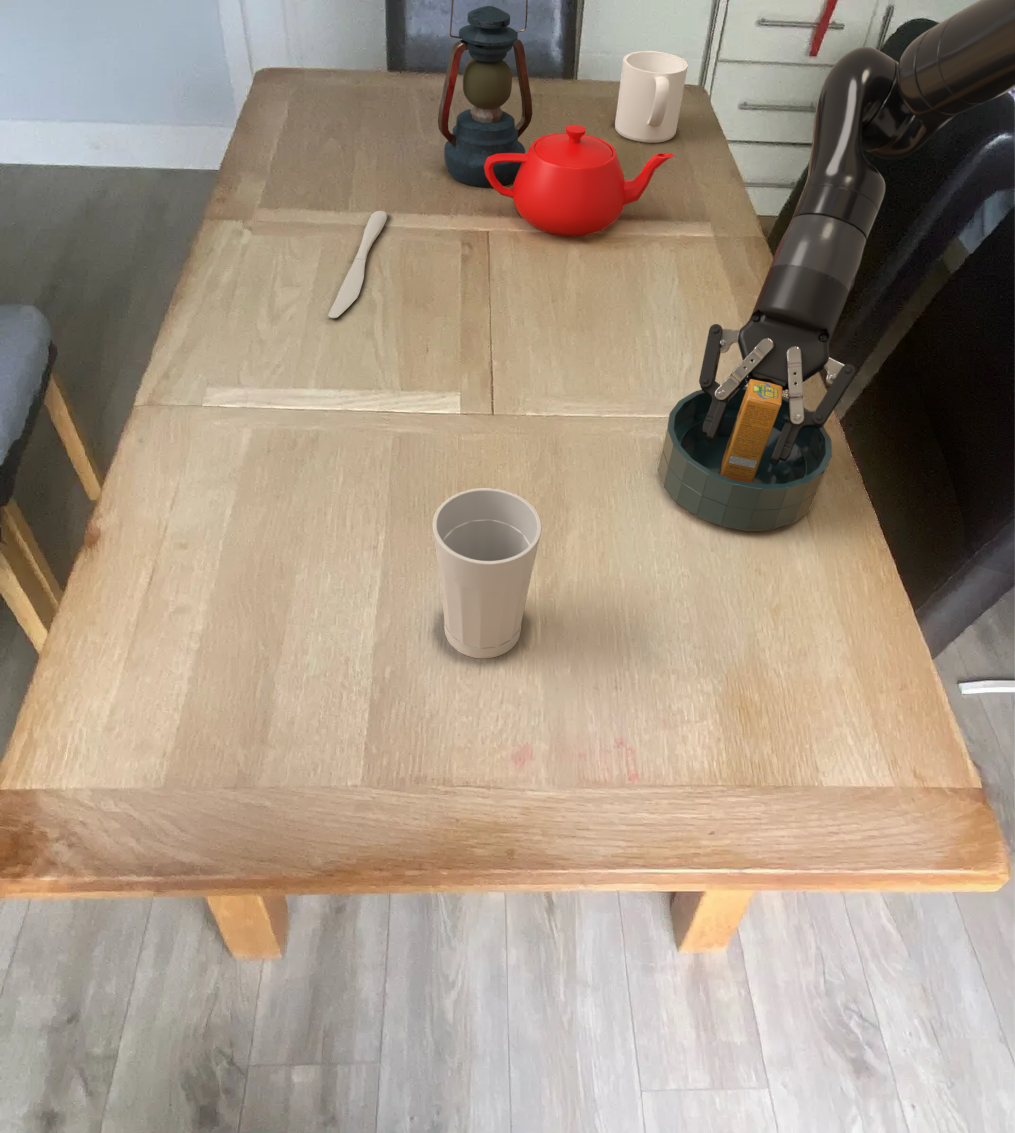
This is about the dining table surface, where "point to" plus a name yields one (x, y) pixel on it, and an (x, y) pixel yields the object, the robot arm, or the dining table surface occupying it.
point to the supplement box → (751, 430)
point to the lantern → (485, 98)
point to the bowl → (729, 502)
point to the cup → (485, 567)
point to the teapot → (571, 182)
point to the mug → (650, 96)
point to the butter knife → (358, 266)
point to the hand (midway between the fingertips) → (741, 451)
